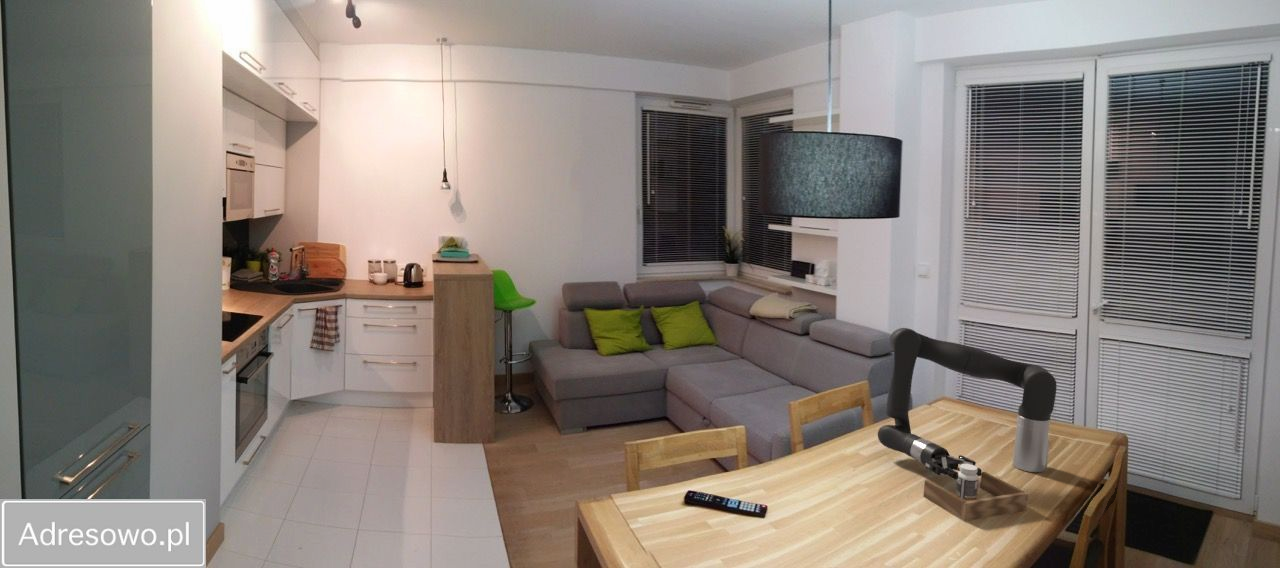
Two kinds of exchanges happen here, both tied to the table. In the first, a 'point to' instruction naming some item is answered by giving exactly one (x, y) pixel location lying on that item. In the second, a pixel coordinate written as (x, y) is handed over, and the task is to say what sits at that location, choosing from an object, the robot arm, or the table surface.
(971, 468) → the pill bottle
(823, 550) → the table surface
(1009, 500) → the frame
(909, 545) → the table surface
